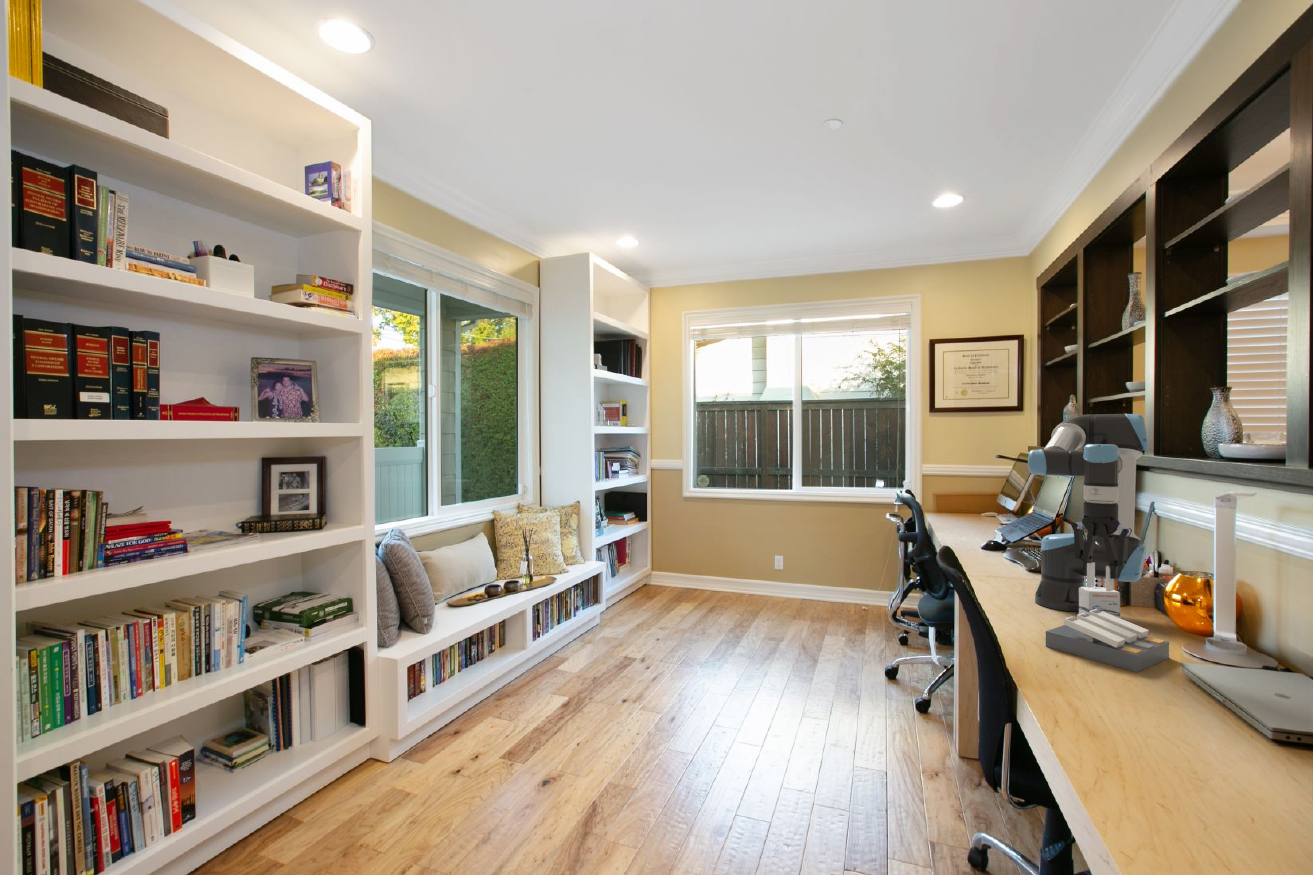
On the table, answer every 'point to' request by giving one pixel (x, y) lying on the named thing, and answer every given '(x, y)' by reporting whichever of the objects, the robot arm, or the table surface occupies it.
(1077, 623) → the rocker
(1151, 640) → the gray compartment tray
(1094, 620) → the rocker
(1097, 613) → the rocker
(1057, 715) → the table surface
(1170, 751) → the table surface
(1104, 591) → the ink box
